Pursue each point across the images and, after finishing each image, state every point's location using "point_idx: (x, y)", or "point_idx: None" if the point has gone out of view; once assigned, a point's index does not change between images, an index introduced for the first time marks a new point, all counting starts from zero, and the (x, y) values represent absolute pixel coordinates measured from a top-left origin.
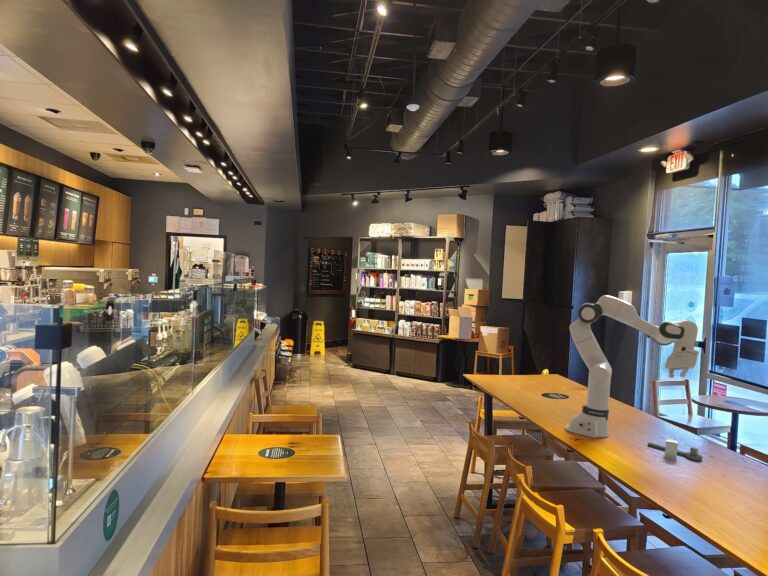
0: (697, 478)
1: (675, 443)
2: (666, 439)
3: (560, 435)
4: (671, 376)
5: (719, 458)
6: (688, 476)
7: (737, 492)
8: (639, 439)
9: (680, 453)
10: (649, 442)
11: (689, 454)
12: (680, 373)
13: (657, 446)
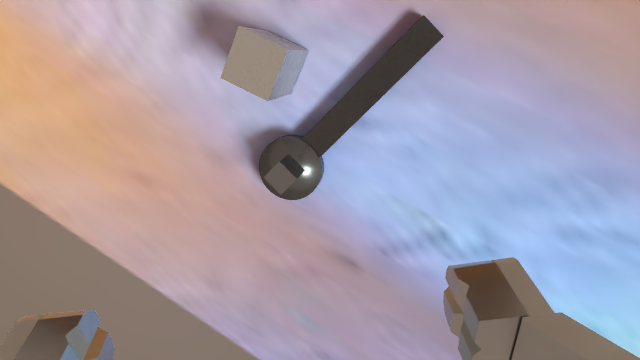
0: (80, 60)
1: (225, 68)
2: (269, 43)
3: None
4: (454, 292)
5: (332, 281)
6: (86, 33)
7: (15, 136)
8: (542, 19)
9: (315, 126)
10: (438, 31)
11: (288, 151)
12: (52, 356)
13: (387, 52)
